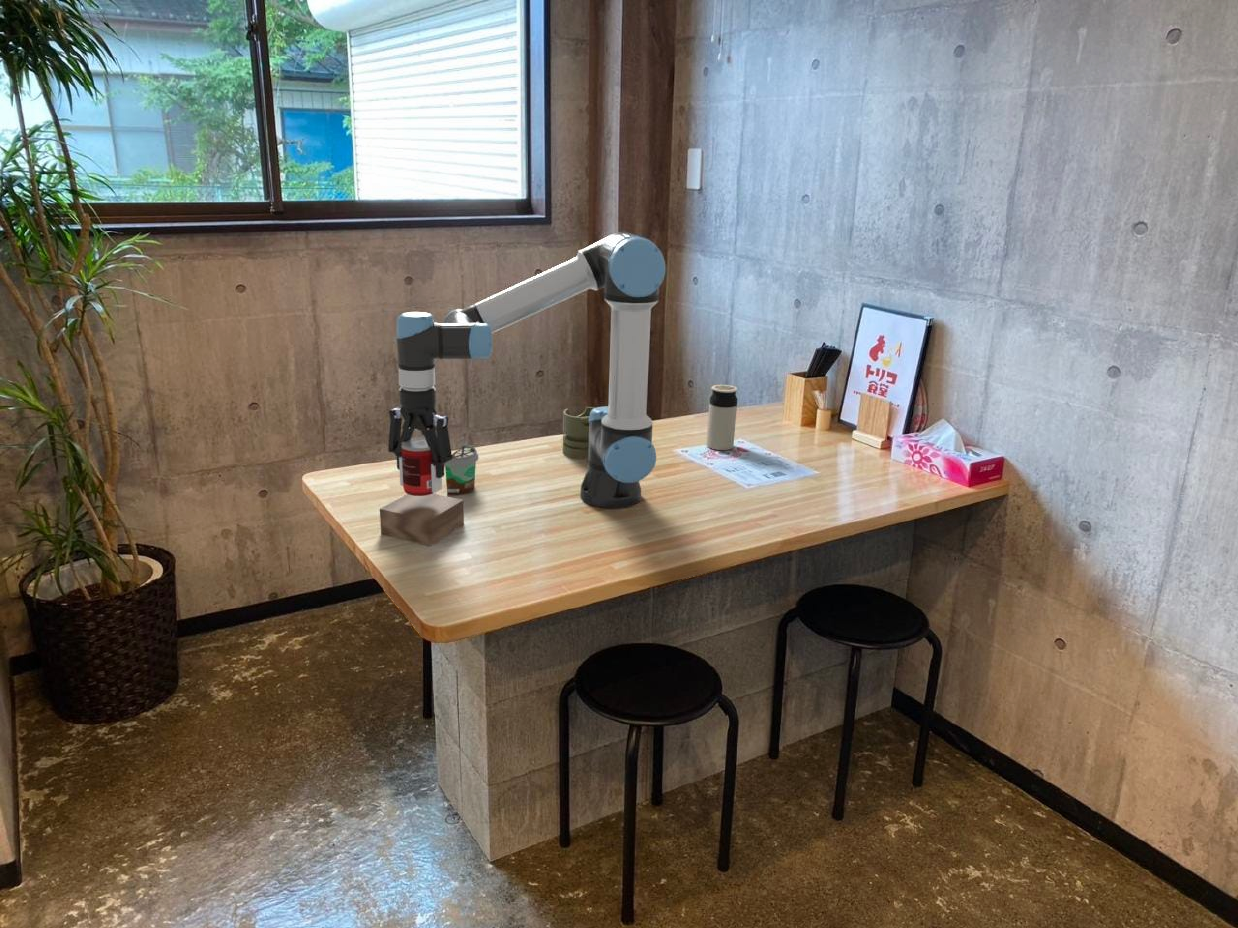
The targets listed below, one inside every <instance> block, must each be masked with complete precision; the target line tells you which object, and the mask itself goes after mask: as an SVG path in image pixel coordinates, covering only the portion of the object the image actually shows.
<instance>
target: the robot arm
mask: <svg viewBox="0 0 1238 928" xmlns="http://www.w3.org/2000/svg"><path fill="white" fill-rule="evenodd" d="M665 276H666V261H665V258H664V255H663V253H662V251H661V250H660V248H658V246H657V245H656V244H655V243H654V242H653V241H651V240H650V239H648V238H646V237H644V236H639V235H637V234H635V233H634V232H630V231H629V232H628V231H619V232H615V233H612V234H609V235H608V236H605V237H603V238H601V239H600V240H598V241H596V242H593V244H590V245H589V246H587V247H584V248H582V249H579V250H578V251H577V254H576V256H575V257H573V258H571V259H570V260H568V261H565V262H563V263H561V264H559V265H556V266H554V267H552V268H550V269H548V270H546V271H543V272H541V273H539V274H537V275H535V276H532V277H530V278H528V279H526V280H524V281H522V282H519V283H517V284H515V285H513V286H511V287H509V288H507V289H505V290H502V291H500V292H498V293H496V294H493V295H491V296H490V297H486V298H485V299H483V300H481V301H478V302H476V303H474V304H472V305H469V306H468V307H465V308H457V309H454V310H452V311H449V313H448V314H447V315H446V317H445V318H444V322H443V323H442V322H441V323H440V322H439V323H438V322H435V319H434V316H433V314H431V313H430V312H429V313H428V312H424V311H423V312H421V311H410V312H403V313H401V314H399V316H398V317H397V318H396V344H397V345H396V348H397V363H398V366H397V367H398V369H397V370H398V386H399V387H400V388H399V394H398V395H399V404H400V405H401V407H399V406H397V407H394V408H392V409H390V410H388V415H389V419H390V424H389V436H388V445H387V450H388V452H389V453H393V454H394V455H395V456H396V469H397V470H399V484H400V486H402V487H403V471H402V448H401V446H402V442H406V441H408V440H410V439H411V438H413V437H412V436H413V435H414V434H413V433H414V431H415V430H418V431H421V435H422V436H424V437H425V439H426V442H427V444H428V447H430V452H431V455H432V458H433V460H434V463H432V464H431V477H432V492H433V494H437V492H439V491H441V490H443V479H442V478H444V476H445V466H444V463H446V462H448V461H450V460H452V454H453V453H452V449H451V448H452V447H451V443H450V436H449V435H450V434H449V430H448V429H449V427H448V426H449V425H448V424H449V416H447V415H444V416H441V415H440V414H439V415H438V414H437V411H436V408H435V406H436V403H437V395H436V393H437V391H436V390H437V389H436V387H435V385H436V368H435V367H436V365H435V364H436V363H435V361H436V360H474V361H477V360H483V359H489V358H491V356H492V353H493V334H494V333H496V332H498V331H500V330H502V329H505V328H508V327H509V326H511V325H514V324H515V323H518V322H520V321H523V320H525V319H527V318H529V317H531V316H533V315H536V314H537V313H540V312H542V311H544V310H546V309H548V308H550V307H552V306H555V305H557V304H560V303H561V302H564V301H566V300H569V299H571V298H573V297H575V296H576V295H579V294H581V293H583V292H585V291H587V290H593V291H599V290H601V289H603V288H604V301H605V302H606V303H607V304H608V305H609V306H610V343H609V344H610V345H609V346H610V347H609V372H608V373H609V375H608V379H609V381H608V382H609V383H608V406H607V405H606V406H598V407H593V408H594V409H592V410H591V412H590V419H589V459H587V460H588V465H587V470H586V471H585V474H584V478H583V480H582V482H581V486H580V493H579V494H580V499H581V500H582V501H583V502H584V503H586V504H588V505H591V506H595V507H599V508H605V509H606V508H607V509H619V508H626V507H631V506H634V505H636V504H638V503H639V502H640V501H641V499H642V487H641V484H640V481H642V480H644V479H645V478H646V477H648V475H650V474H651V472H652V471H653V470H654V468H655V466H656V461H657V453H656V448H655V445H654V444H653V443H652V442H653V441H652V439H653V422H654V421H653V420H652V418H651V417H649V415H648V414H647V405H648V403H647V402H648V381H649V380H648V379H649V360H650V339H651V337H650V336H651V333H650V332H651V313H652V308H653V307H655V306H656V305H657V303H659V294H660V292H659V291H660V286H661V285H662V283H663V281H664V279H665ZM403 420H404V421H403ZM402 421H403V422H402ZM402 423H403V425H402Z"/></svg>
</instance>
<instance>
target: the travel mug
mask: <svg viewBox="0 0 1238 928" xmlns="http://www.w3.org/2000/svg"><path fill="white" fill-rule="evenodd" d="M711 390H712V394H711V395H710V397H709V407H708V420H707V431H706V433H707V434H706V446H707V447H708V448H710V449H711V448H712V450H714V449H715V451H729V450H731V449H734V444H735V433H736V423H737V422H736V421H737V409H738V398H737V391H738V387H737V386H735V385H731V384H714V385H712V386H711Z"/></svg>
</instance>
